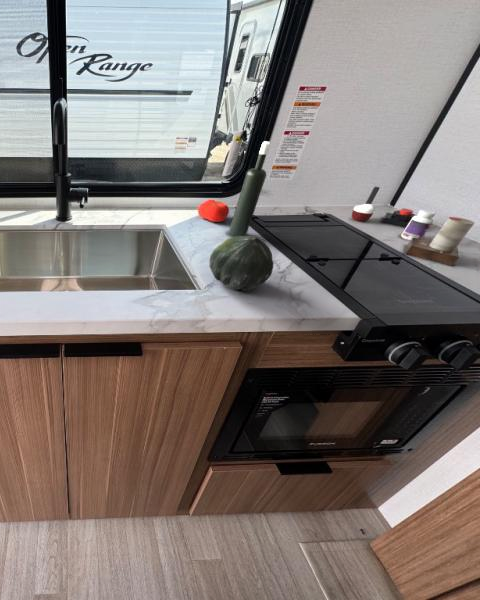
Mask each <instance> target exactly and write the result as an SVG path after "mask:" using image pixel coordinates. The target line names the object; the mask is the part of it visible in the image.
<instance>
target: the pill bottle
mask: <svg viewBox="0 0 480 600" xmlns="http://www.w3.org/2000/svg"><path fill="white" fill-rule="evenodd" d="M436 214H437V213H436V212H435V211H433V210H430V209H420V210H419V211H418V213H417V214H416V216H414V217H413V218H412V219H411V221H410V222H409V224H408V225H407V227H406V228H405V229H404V230H403V232H402V234H401V238H403V239H405V240H409V241H411V239H412V238H413V237H414V238H418V239H423V238H424V237H425V235H426V233H427V232H428V230H429V229H430V227H431V226H432V225H433V223H434V219H433V218H434V217H435V216H436Z"/></svg>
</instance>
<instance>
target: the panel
mask: <svg viewBox="0 0 480 600" xmlns="http://www.w3.org/2000/svg"><path fill="white" fill-rule="evenodd" d="M431 242H432V240H427V239H423V238H422V239H418V238H414V237H413V238H412V239H411V240H409V242H408V243H407V246H406V250H405V255H408V256H412V257H416V258H419V259H423V260H427V261H431V262H435V263H440V264H444V265H448V266H451V267H452V266H454V264H455V263H456V262H457V260H458V259H459V258H460V254H463V253H464V252H463V251H459V247H458V246H457V247H456V248H455V249H454V251H453V252H445V251H440V250H437V249H434V248H432V247H430V243H431Z"/></svg>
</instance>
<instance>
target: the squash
mask: <svg viewBox="0 0 480 600" xmlns="http://www.w3.org/2000/svg"><path fill="white" fill-rule="evenodd" d="M208 262H209V269H210V270H211V273H212V275H213V277H214V278H215V280H216V281H220V282H221V283H222V284H223V285H228V287H229V288H230V289H231V290H233V291H238V290H241V291H244V292H248V291H251V290H253V289H255V288H256V287H259V286H261V285H262V284H264V283H265V282H267V281H268V280H269V279H270V278H271V276H272V273H273V270H274V261H273V254H272V250H271V248H270V247H269V246H268V245H267V244H266V242H264V241H263V240H262V239H260V238H259V237H257V236H253V235H246V236H234V237H233V236H230V237H229V238H227V239H225V240H224V241H223V242H222V243H221V244H220V245H217V246H216V248H214V249H213V251H212V252H211V254H210V257H209V261H208ZM245 290H246V291H245Z"/></svg>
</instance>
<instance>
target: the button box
mask: <svg viewBox="0 0 480 600" xmlns="http://www.w3.org/2000/svg"><path fill="white" fill-rule="evenodd" d="M399 212H400V210H394V211H393V213H392V212H389V211H388V212H386V213H385V215H384V216H383V220H382V222H381V223H382V224H386V225H391V226H395V227H399V228H400V227H401V228H403V229H404V228H406V227H407V225H408V224H409V222H410V221H411V219H412V218H413V217H414V216H417V214H415V213H414V212H413V213H412V214H411V216H408V215H402V214H399Z"/></svg>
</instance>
